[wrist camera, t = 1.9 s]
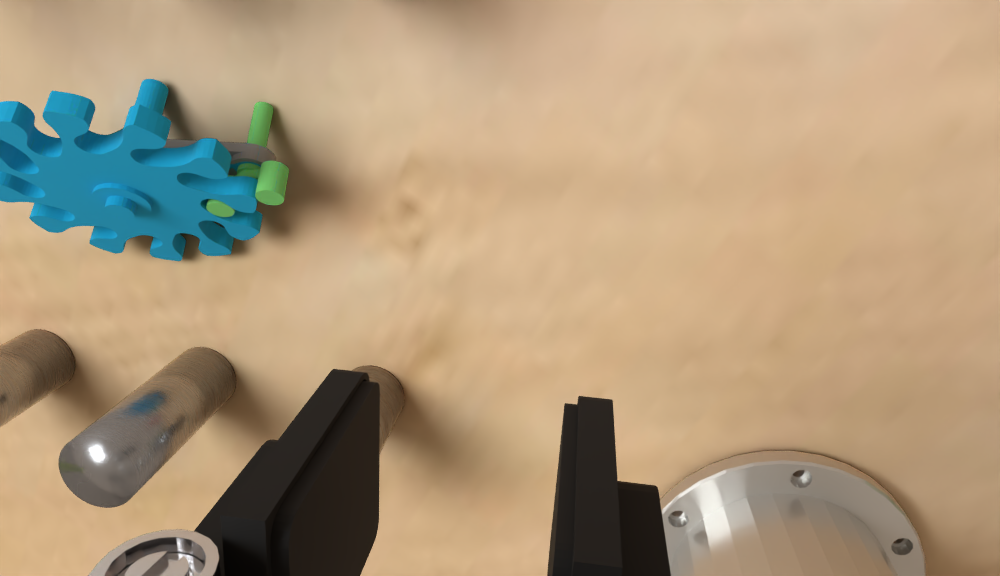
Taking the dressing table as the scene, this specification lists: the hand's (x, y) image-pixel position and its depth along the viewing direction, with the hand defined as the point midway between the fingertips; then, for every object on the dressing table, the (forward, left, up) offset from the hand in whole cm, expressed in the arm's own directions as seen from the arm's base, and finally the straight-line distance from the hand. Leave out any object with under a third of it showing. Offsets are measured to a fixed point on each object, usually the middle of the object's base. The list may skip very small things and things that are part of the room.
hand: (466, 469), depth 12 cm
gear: (0, +15, -20) cm, 25 cm away
